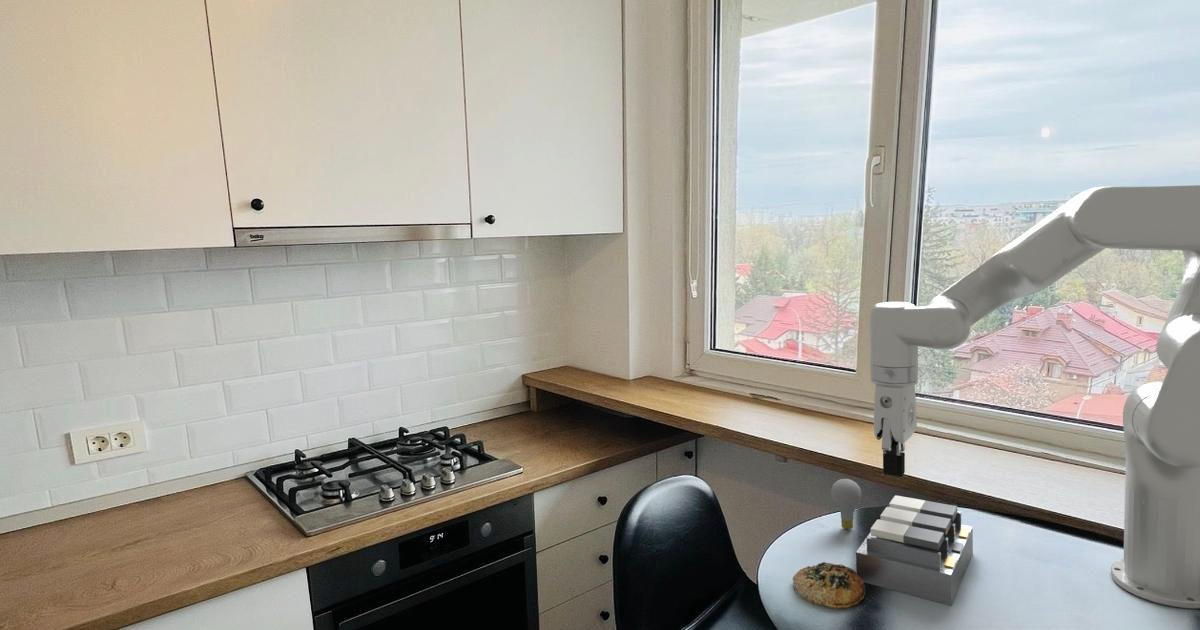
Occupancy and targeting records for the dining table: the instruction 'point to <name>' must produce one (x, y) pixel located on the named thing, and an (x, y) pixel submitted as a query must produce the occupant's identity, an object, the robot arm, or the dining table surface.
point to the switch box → (918, 564)
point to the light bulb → (846, 500)
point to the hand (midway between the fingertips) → (893, 473)
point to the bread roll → (829, 585)
